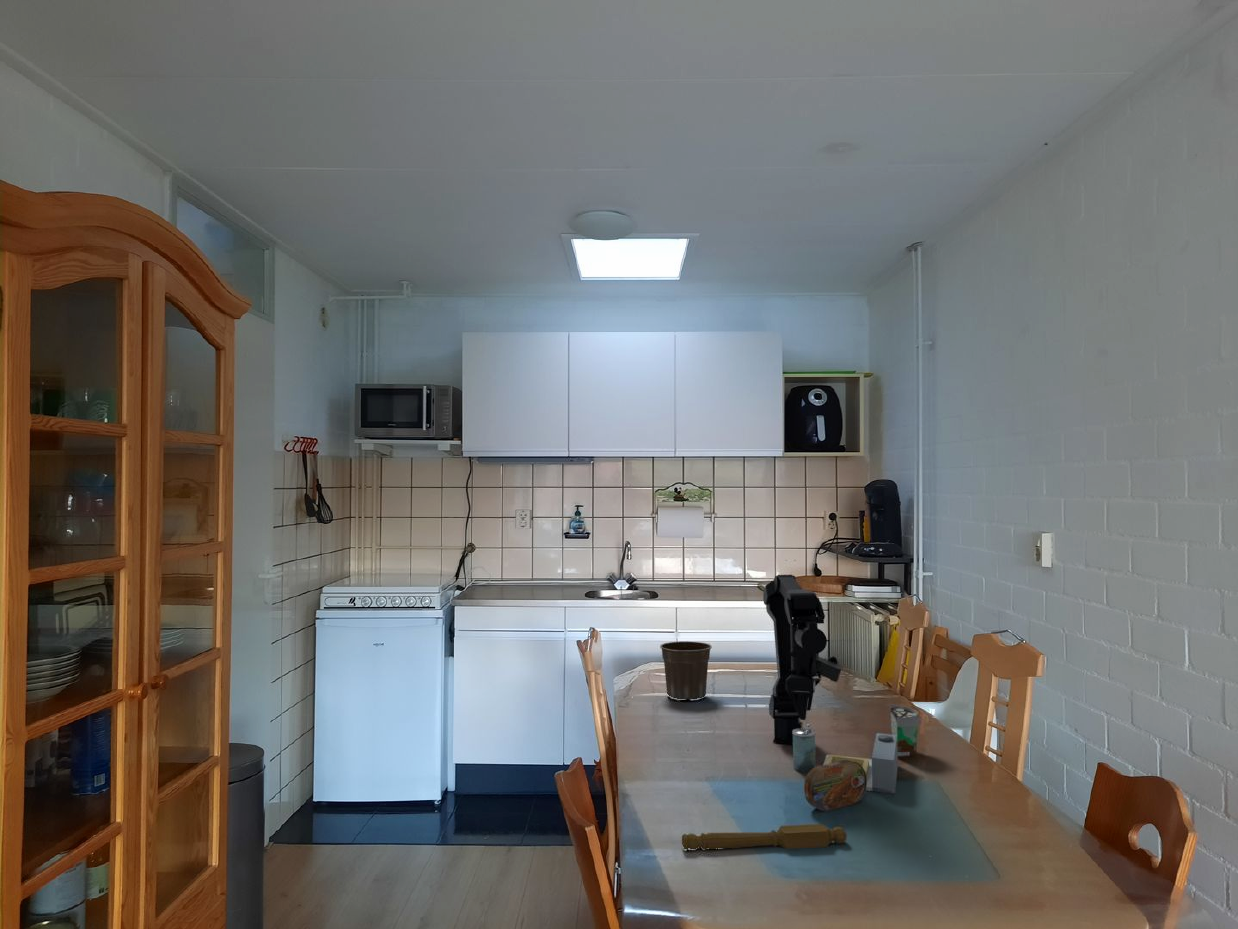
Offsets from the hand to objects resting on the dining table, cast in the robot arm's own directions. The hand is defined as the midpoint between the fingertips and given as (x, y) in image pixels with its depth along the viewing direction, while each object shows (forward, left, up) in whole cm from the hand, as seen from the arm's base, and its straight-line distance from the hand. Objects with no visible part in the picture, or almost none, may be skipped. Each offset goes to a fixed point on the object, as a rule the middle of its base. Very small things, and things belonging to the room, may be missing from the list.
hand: (805, 715), depth 178 cm
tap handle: (-2, -42, -13) cm, 44 cm away
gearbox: (+11, 0, -12) cm, 17 cm away
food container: (+21, +19, -13) cm, 31 cm away
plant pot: (-45, +52, -13) cm, 70 cm away
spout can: (-1, 0, -12) cm, 12 cm away
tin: (+8, -19, -13) cm, 24 cm away
